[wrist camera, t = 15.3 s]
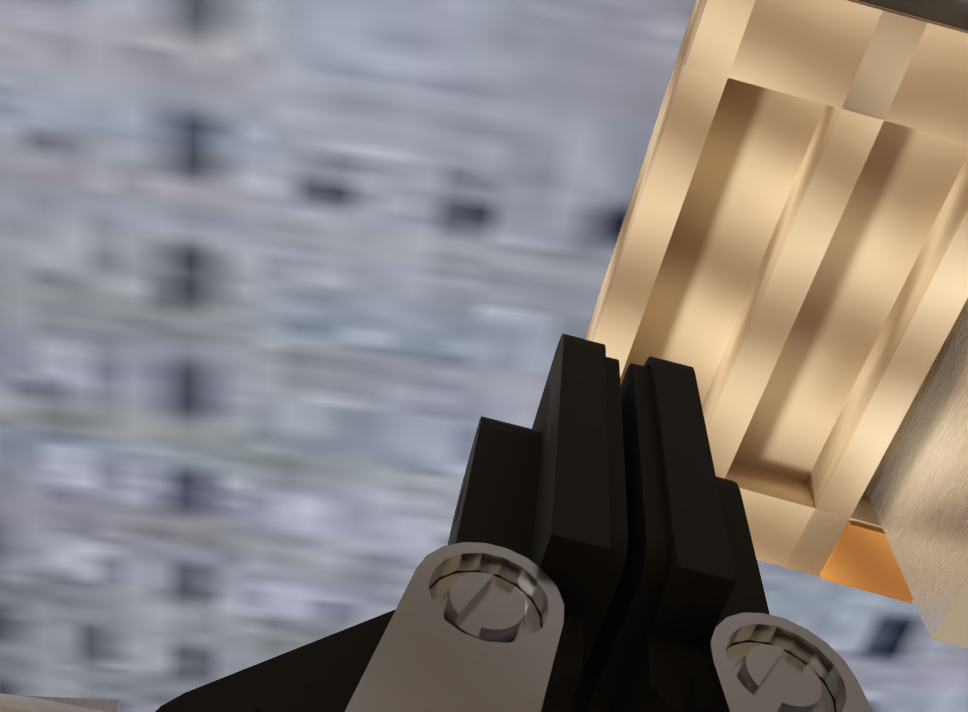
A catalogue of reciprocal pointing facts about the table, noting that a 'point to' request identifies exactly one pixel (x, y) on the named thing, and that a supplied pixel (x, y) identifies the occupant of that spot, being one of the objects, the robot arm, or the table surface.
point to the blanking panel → (932, 491)
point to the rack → (801, 256)
